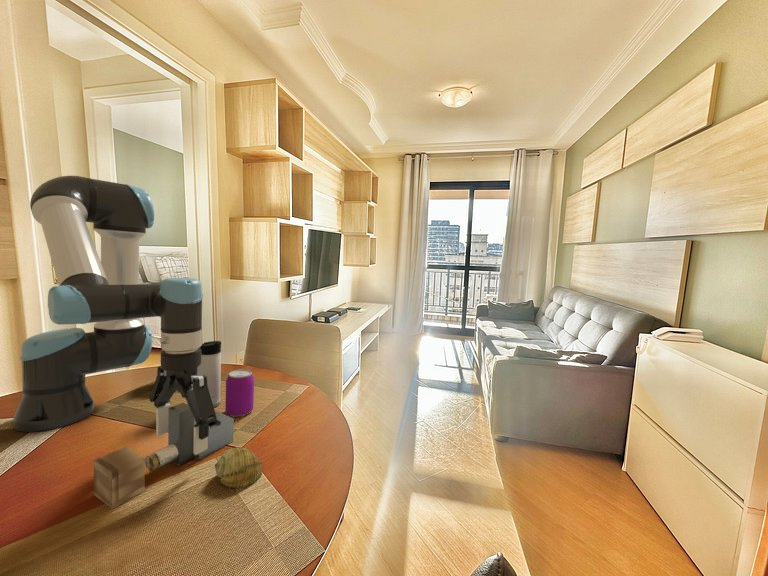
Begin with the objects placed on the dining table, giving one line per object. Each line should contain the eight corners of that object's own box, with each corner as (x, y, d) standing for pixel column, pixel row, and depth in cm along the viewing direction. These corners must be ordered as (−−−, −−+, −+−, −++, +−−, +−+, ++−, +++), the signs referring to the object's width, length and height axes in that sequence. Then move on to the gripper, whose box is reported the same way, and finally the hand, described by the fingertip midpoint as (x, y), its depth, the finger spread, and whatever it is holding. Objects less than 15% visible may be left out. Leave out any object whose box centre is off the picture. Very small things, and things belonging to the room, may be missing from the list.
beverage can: (227, 407, 97) (228, 369, 96) (254, 404, 99) (255, 367, 98) (223, 419, 90) (223, 378, 88) (252, 416, 92) (253, 376, 91)
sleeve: (216, 433, 82) (216, 408, 82) (233, 441, 80) (233, 415, 79) (181, 451, 74) (181, 423, 74) (198, 460, 72) (199, 431, 71)
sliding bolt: (212, 437, 80) (213, 391, 79) (222, 441, 78) (223, 395, 77) (143, 472, 66) (143, 417, 65) (154, 478, 64) (154, 422, 63)
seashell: (257, 487, 70) (256, 448, 74) (269, 481, 66) (268, 440, 70) (208, 497, 64) (210, 454, 68) (219, 491, 60) (220, 446, 64)
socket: (126, 478, 65) (126, 446, 64) (144, 490, 62) (144, 456, 61) (94, 495, 60) (93, 460, 59) (112, 508, 57) (111, 472, 56)
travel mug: (211, 411, 94) (212, 345, 92) (192, 407, 95) (192, 342, 93) (225, 402, 100) (226, 340, 98) (207, 399, 101) (208, 337, 99)
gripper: (130, 343, 71) (131, 433, 73) (201, 365, 60) (200, 470, 62) (166, 336, 78) (166, 419, 80) (235, 355, 67) (234, 450, 69)
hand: (181, 442), depth 71 cm, fingers open, 13 cm apart
